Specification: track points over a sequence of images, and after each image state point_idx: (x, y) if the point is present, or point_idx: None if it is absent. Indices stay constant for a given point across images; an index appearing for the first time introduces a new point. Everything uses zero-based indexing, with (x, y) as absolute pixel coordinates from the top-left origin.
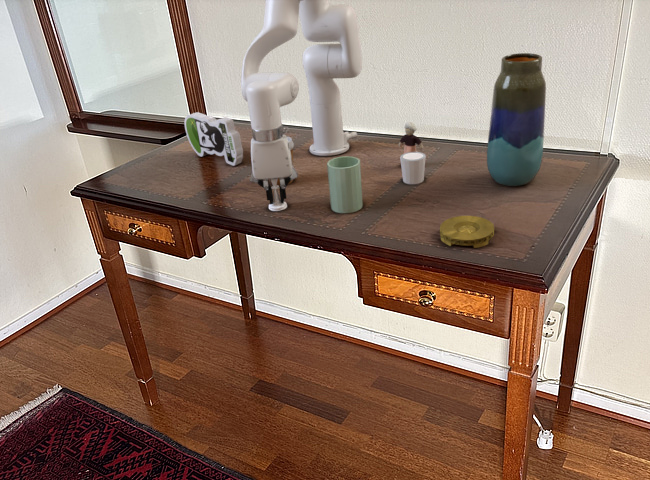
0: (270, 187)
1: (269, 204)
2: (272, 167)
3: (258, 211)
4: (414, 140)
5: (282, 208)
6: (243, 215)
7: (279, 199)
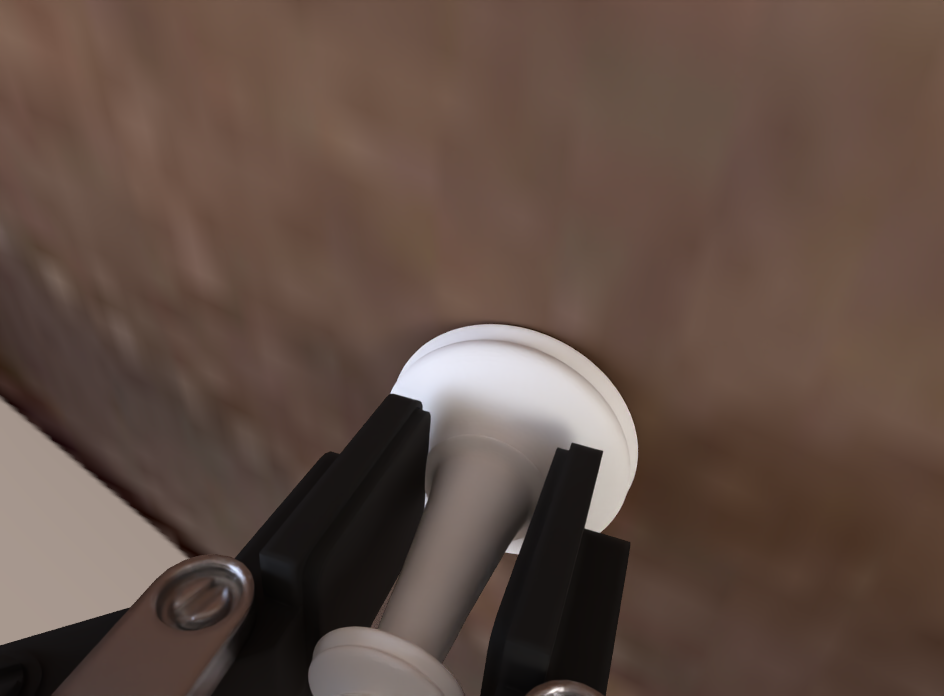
0: (300, 622)
1: None
2: None
3: (286, 429)
4: None
5: None
6: (157, 441)
7: (511, 541)
